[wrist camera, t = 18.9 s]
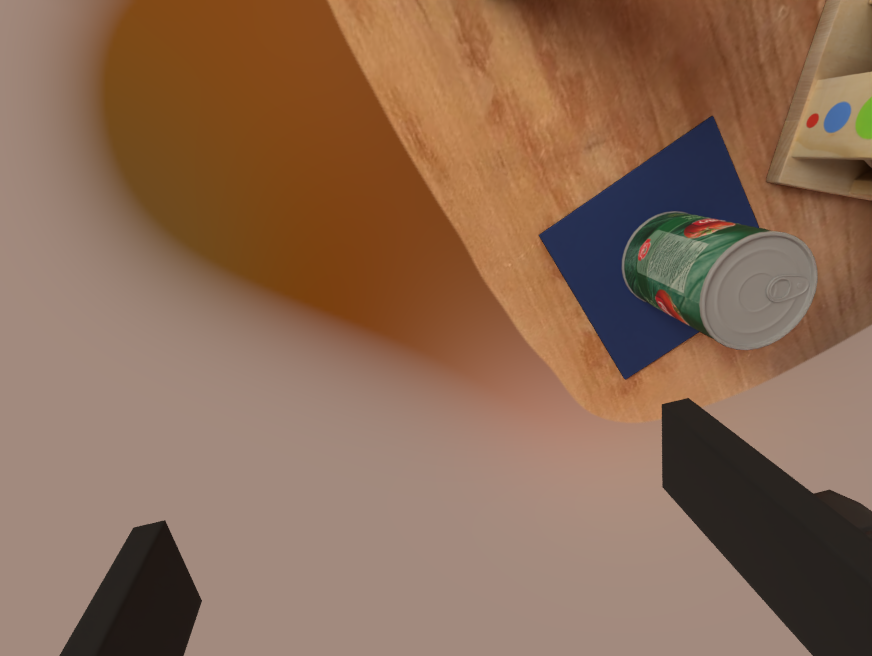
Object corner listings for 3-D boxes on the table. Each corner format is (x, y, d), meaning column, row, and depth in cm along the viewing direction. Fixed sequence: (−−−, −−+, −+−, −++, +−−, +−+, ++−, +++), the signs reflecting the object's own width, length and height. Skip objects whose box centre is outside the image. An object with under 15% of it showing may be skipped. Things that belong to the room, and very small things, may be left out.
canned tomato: (621, 310, 44) (699, 360, 34) (620, 219, 41) (704, 242, 31) (708, 295, 44) (810, 339, 34) (713, 203, 42) (825, 222, 31)
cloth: (538, 235, 41) (539, 235, 41) (710, 116, 40) (713, 116, 39) (623, 378, 47) (625, 379, 46) (778, 278, 45) (780, 279, 45)
